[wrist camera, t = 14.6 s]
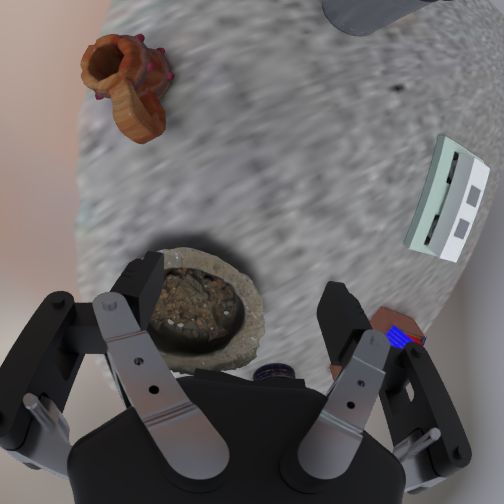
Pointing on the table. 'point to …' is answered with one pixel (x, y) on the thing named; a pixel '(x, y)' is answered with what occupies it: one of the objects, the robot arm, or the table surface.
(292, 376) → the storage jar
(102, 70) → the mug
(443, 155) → the hole board
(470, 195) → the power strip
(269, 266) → the table surface
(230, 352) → the stone bowl
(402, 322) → the house
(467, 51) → the table surface
